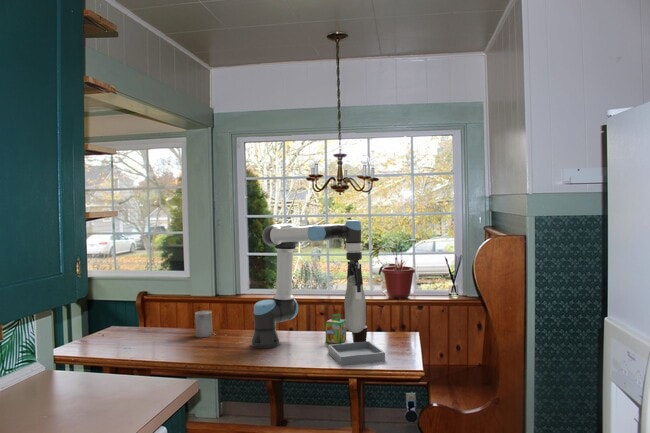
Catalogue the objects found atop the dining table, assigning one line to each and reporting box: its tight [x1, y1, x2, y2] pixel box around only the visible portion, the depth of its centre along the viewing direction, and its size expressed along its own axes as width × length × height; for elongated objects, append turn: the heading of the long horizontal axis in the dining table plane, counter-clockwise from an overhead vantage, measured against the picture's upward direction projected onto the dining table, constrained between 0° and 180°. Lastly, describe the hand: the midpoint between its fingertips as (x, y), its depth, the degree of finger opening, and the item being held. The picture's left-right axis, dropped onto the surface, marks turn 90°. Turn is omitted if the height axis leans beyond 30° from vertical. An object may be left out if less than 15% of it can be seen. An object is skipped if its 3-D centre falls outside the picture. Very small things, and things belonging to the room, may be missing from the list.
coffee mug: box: [351, 324, 368, 343], centre depth 281 cm, size 12×9×10 cm
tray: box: [327, 340, 386, 366], centre depth 259 cm, size 22×22×4 cm
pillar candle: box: [194, 309, 214, 338], centre depth 308 cm, size 10×10×15 cm
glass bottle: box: [343, 275, 367, 333], centre depth 258 cm, size 10×10×28 cm
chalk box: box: [325, 313, 347, 344], centre depth 289 cm, size 9×9×15 cm
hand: (354, 297), depth 258 cm, fingers closed on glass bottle, 10 cm apart
